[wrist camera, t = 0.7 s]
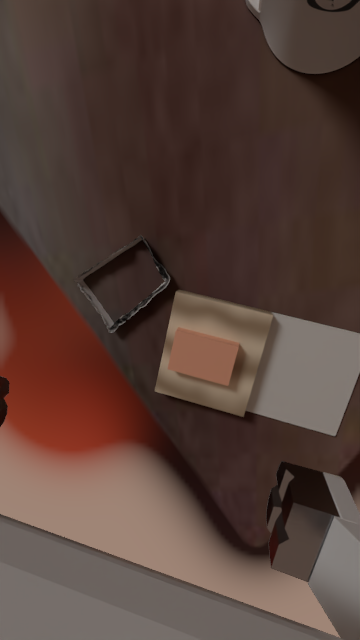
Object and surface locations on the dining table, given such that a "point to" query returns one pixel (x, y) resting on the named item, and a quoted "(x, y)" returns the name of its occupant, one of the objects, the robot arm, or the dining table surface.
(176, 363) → the pink flat block
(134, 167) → the dining table surface
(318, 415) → the mat
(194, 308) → the beige square slab
